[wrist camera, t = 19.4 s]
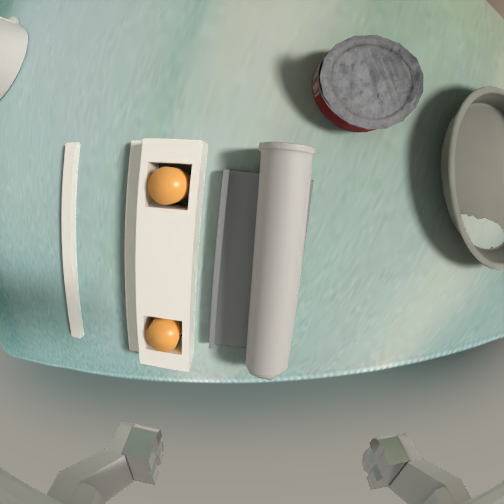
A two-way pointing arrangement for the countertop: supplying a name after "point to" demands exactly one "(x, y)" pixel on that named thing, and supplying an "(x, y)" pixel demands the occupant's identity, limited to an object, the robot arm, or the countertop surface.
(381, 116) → the canned food
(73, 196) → the housing
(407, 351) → the countertop surface
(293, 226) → the tube
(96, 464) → the robot arm
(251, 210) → the tray
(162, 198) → the front plunger
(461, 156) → the cake pan
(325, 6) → the countertop surface
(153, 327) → the rear plunger
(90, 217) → the countertop surface
